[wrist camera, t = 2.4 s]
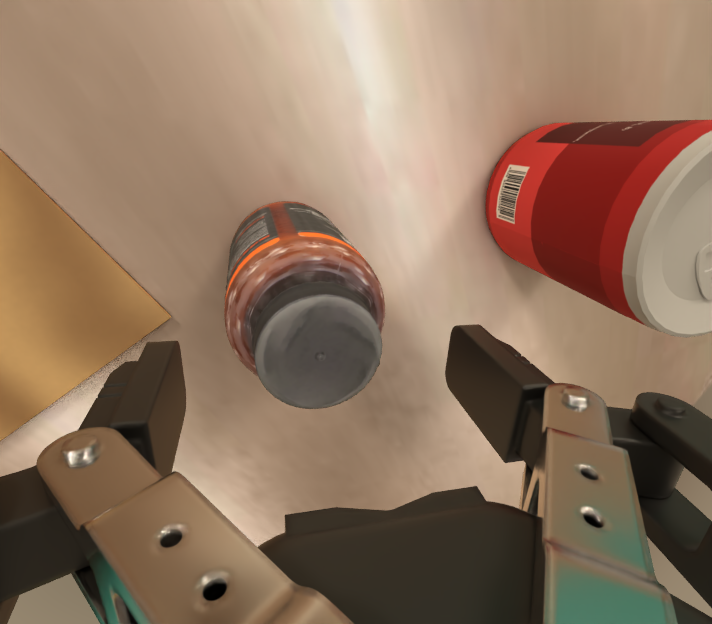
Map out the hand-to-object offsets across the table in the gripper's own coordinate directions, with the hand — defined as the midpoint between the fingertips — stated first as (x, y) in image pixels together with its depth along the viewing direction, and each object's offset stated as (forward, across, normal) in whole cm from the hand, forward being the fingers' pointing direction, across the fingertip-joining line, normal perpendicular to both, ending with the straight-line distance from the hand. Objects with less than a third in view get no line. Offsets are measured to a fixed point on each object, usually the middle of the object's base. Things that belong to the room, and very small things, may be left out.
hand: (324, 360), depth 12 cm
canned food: (+12, -15, -3) cm, 19 cm away
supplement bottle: (+12, 0, 0) cm, 12 cm away
